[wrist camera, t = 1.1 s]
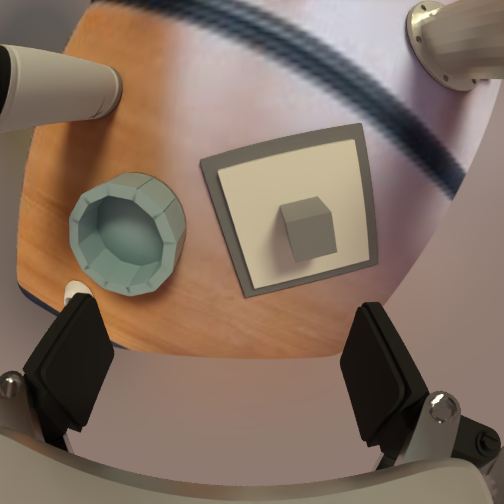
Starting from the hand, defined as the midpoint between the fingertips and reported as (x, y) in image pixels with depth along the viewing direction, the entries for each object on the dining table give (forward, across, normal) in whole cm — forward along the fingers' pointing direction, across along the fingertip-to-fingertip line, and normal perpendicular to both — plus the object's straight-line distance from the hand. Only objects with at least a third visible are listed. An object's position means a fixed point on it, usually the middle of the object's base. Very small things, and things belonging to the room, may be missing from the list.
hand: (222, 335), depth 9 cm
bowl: (+21, +12, +4) cm, 25 cm away
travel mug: (+22, +16, -11) cm, 29 cm away
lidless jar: (+22, +23, +15) cm, 35 cm away
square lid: (+21, -7, +3) cm, 22 cm away
